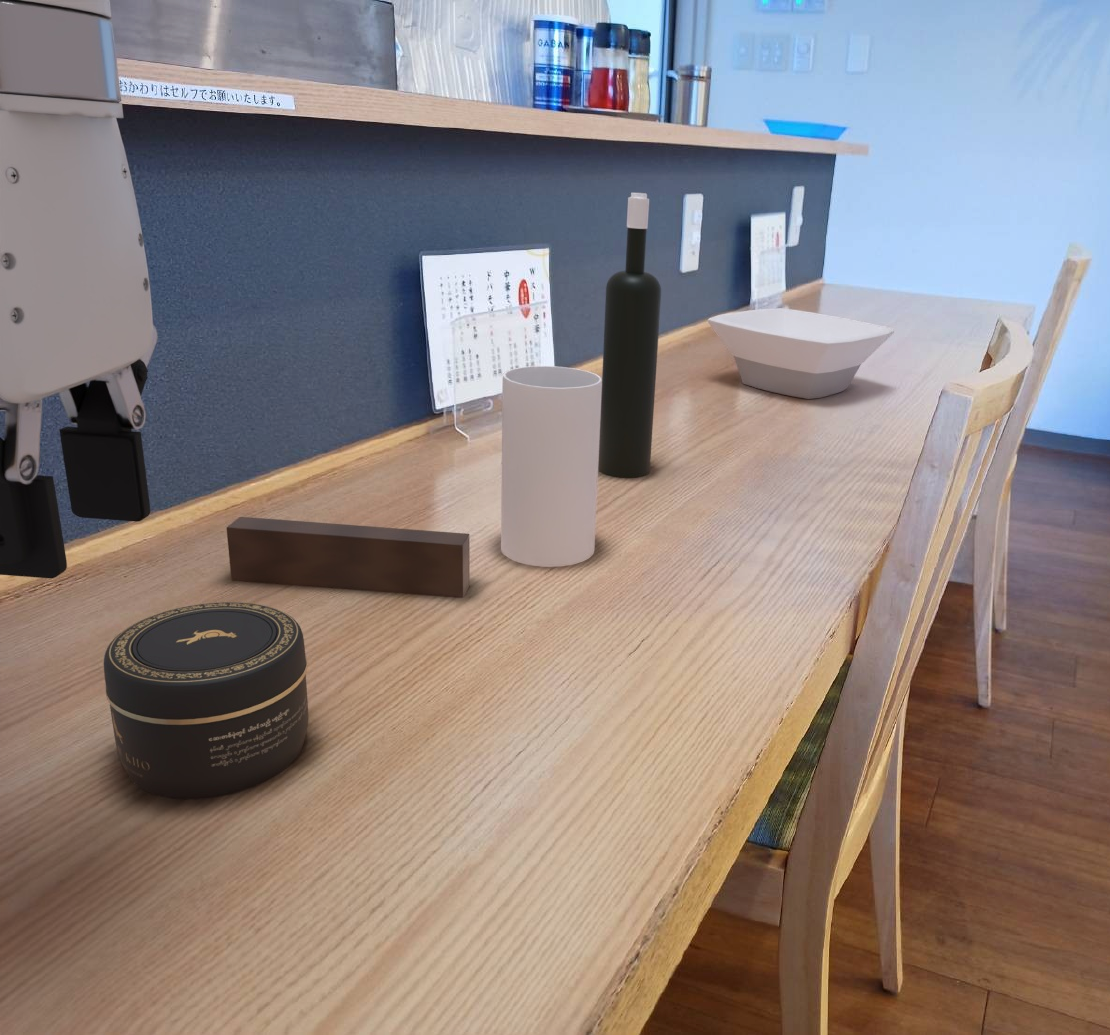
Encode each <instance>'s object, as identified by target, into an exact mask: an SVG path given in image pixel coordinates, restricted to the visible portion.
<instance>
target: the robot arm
mask: <svg viewBox="0 0 1110 1035" xmlns="http://www.w3.org/2000/svg"><path fill="white" fill-rule="evenodd" d="M112 18H113V17H112V9H111V0H0V412H5V416H4V417H5V420H4V421H5V422H4V437H3V438H2V437H1V436H0V576H10V577H11V576H13V577H24V578H25V577H26V578H38V579H56V578H57V577H58V576H60V575H61V574H63V573H64V572H65V571H66V570H67V568H68V561H67V556H66V555H67V554H66V548H65V543H64V536H63V530H62V529H63V528H62V523H61V518H60V517H61V516H60V511H59V504H58V499H57V492H56V486H55V481H54V476H52V475H39V470H40V455H41V454H40V453H41V452H40V451H41V433H42V415H43V399H45V398H48V397H50V396H53V395H56V394H58V396H59V398H60V401H61V404H62V406H63V408H64V411H65V415H66V416H67V419H68V421H69V423H70V424H71V425H74V426H64V427H62V428H60V429H58V430H59V437H60V444H61V451H62V457H63V458H62V459H63V463H64V470H65V476H66V483H67V491H68V495H69V504H70V510H71V512H72V514H73V515H74V516H76V517H78V518H82V519H83V518H84V519H95V520H108V521H123V522H135V523H136V522H141V521H143V520H145V519H146V518H147V517H149V516H150V514H151V503H150V495H149V486H148V480H147V479H148V478H147V473H146V472H147V470H146V464H145V455H144V454H145V453H144V448H143V447H144V446H143V438H142V432H141V431H138V430H141V429H142V428H143V427H144V426H145V423H146V419H147V412H146V408H145V404H144V401H143V399H142V393H143V391H144V389H145V386H146V383H147V380H148V379H149V376H148V373H149V369H148V368H147V367H148V365H149V363H150V360H151V358H152V355H153V353H154V350H155V348H156V345H157V342H158V338H159V334H158V329H157V327H156V325H155V324H154V322H153V321H154V320H153V317H154V316H153V303H152V293H151V285H150V278H149V277H150V276H149V268H148V262H147V256H146V249H145V242H144V237H143V231H142V226H141V220H140V219H141V218H140V214H139V209H138V208H139V207H138V204H137V198H136V194H135V189H134V184H133V180H132V175H131V171H130V166H129V162H128V157H127V153H126V149H125V146H124V142H123V138H122V135H121V131H120V127H119V123H118V120H117V119H124V109H123V103H121V102H122V93H121V86H120V77H119V75H120V74H119V68H118V60H117V58H118V57H117V51H116V50H117V49H116V42H115V34H114V26H113V25H114V24H113V21H111V20H112ZM88 382H89V383H88ZM76 426H77V427H76ZM132 430H136V431H132Z"/></svg>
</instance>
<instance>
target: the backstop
mask: <svg viewBox="0 0 1110 1035" xmlns="http://www.w3.org/2000/svg"><path fill="white" fill-rule="evenodd" d="M226 538H227V550H228V558H229V571H230V580H231V582H241V583H255V584H270V585H280V586H281V585H282V586H283V585H284V586H297V587H308V588H310V587H311V588H322V589H323V588H324V589H335V590H336V589H337V590H350V591H364V592H377V593H391V594H393V593H394V594H403V595H404V594H406V595H418V596H433V597H445V598H460V599H463V598H464V597H465V595H466V593H467V591H468V590H469V588H470V586H471V585H470V582H471V581H470V579H471V578H470V574H471V572H470V567H471V565H470V564H471V562H470V561H471V560H470V556H471V555H470V552H471V551H470V549H471V548H470V546H471V545H470V533H465V532H449V531H436V530H424V529H421V530H420V529H410V528H399V527H398V528H397V527H396V528H395V527H382V526H370V525H358V524H343V523H330V522H329V523H328V522H318V521H317V522H316V521H305V520H303V521H302V520H290V519H289V520H288V519H278V518H263V517H252V516H251V517H249V516H239V517H238V518H237V519H235V520H234V521H233V522H231V523H230V524H229V525H228V526H226Z"/></svg>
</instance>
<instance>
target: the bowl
mask: <svg viewBox="0 0 1110 1035" xmlns="http://www.w3.org/2000/svg"><path fill="white" fill-rule="evenodd" d="M707 323H708V324H709V326H710V327H711V329H712V330H713V331H714V332H715V334H716V335H717V337H718V338H719V339H720V341H721V343H723V345H724V346H725V347H726V348H727V350H728V352H729V353H730V354H731V356H732V357H733V358H734V362H735V364H736V367H737V371H738V373H739V377H740V379H741V383H742V384H744V385H746V386H749V387H752V388H755V389H759V390H762V391H766V392H770V393H773V394H778V395H783V396H787V397H794V398H799V399H804V400H813V399H821V398H824V397H828V396H829V397H830V396H833V395H836V394H839V393H842V392H844V391H845V390H846V389H848V387H849V386H850V384H851V382H853V379H854V377H856V374H857V372H858V370H859V369H860V367H861V365H862V364H863V363H865V362H866V360H868V358H870V357H871V356H872V355H873V354H874V353H875V352H876V351H877V350H878V349H879V348H880V347H881V346H882V345H883V344H884V343H885V342H886V341H887V340H888V339H889V338H890V337H891V336H892V335H894V333H895V329H894V328H893V327H889V326H885V325H881V324H877V323H872V322H867V321H863V320H859V319H852V318H848V317H843V316H837V315H830V314H824V313H818V312H812V311H804V310H799V309H791V308H784V307H775V308H774V307H773V308H759V309H750V310H742V311H735V312H728V313H721V314H718V315H715V316H711V317H710V318H708V319H707Z"/></svg>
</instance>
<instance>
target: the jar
mask: <svg viewBox="0 0 1110 1035" xmlns="http://www.w3.org/2000/svg"><path fill="white" fill-rule="evenodd" d="M307 670H308V657H307V654H306V647H305V638H304V634H303V631H302V628H301V626H300V625H299V623H298V622H297V621H296V620H295V619H294V617H292V616H291V615H289V614H287V613H286V612H284V611H282V610H280V609H277V608H274V607H271V606H269V605H263V604H259V603H251V602H240V601H239V602H238V601H235V602H234V601H227V602H225V601H224V602H221V601H220V602H208V603H200V604H199V603H198V604H192V605H187V606H182V607H177V608H173V609H170V610H169V609H168V610H166V611H163V612H159V613H156V614H153V615H151V616H149V617H146V618H144V619H142V620H139V621H137V622H135V623H134V624H131V625H129V627H127V628H125V629H124V630H123V631H121V632H119V634H117V635H116V636H115V637H114V638H113V639H112V640H111V641H110V643H109V644H108V646H107V648H106V650H105V653H104V656H103V674H104V682H105V684H104V692H105V697H106V700H107V702H108V703H109V709H110V715H111V722H112V728H113V736H114V741H115V747H116V752H117V756H118V758H119V760H120V763H121V764H122V767H123V768H124V770H125V772H126V774H127V775H128V777H129V779H130V780H131V781H132V783H133V784H134V785H135V786H137V787H138V788H139V789H141V790H143V791H144V792H146V793H149V794H152V795H155V796H158V797H162V798H168V799H174V800H175V799H177V800H202V799H211V798H219V797H223V796H228V795H233V794H236V793H240V792H243V791H246V790H249V789H252V788H253V787H257V786H259V785H261V784H263V783H265V782H267V781H269V780H271V779H273V778H274V777H276V776H277V775H279V774H280V773H282V772H283V771H285V770H286V769H287V768H289V766H291V764H292V763H294V761H296V759H297V758H298V757H299V755H300V753H301V751H302V749H303V747H304V743H305V740H306V735H307V731H308V726H309V701H308V689H307V687H308V686H307Z"/></svg>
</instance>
